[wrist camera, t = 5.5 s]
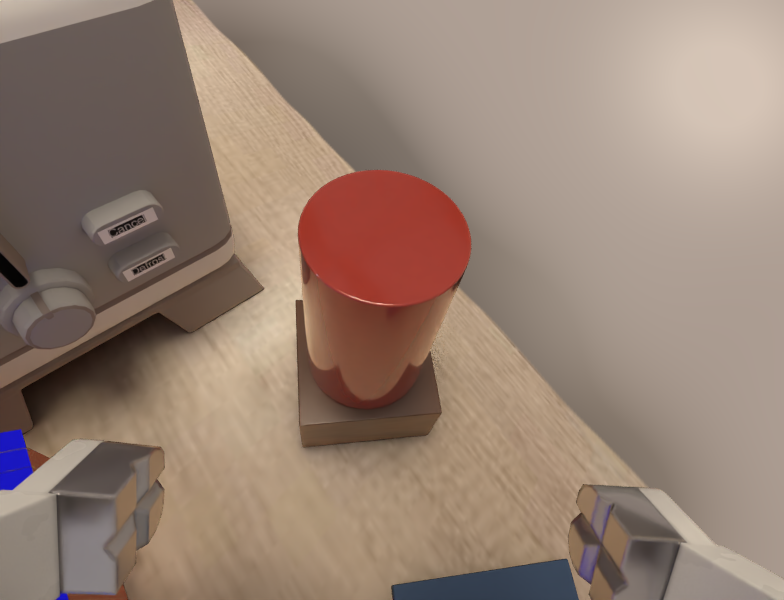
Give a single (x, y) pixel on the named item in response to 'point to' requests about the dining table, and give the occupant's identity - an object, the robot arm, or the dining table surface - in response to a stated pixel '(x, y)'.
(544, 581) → the blue mat
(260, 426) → the dining table surface
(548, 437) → the dining table surface
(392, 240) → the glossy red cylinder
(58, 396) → the dining table surface
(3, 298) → the toaster
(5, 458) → the house
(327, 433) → the riser
